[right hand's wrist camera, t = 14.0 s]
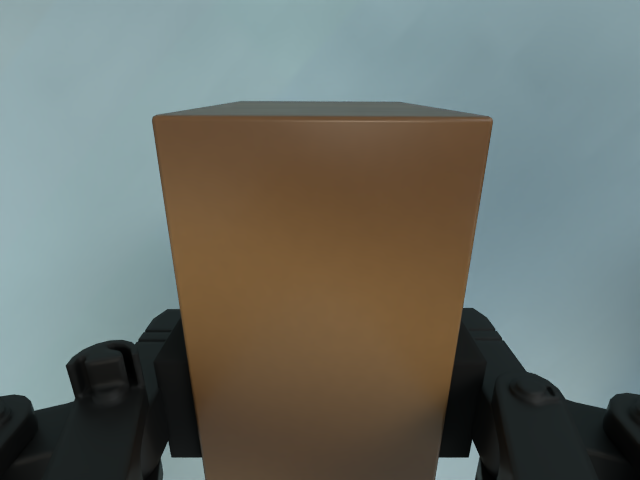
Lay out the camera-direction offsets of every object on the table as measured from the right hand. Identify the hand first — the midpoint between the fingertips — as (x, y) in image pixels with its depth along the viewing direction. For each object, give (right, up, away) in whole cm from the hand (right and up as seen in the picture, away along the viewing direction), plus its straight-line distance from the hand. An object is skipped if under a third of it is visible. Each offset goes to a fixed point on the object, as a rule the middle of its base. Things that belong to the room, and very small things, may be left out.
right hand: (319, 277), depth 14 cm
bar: (0, -21, +9) cm, 23 cm away
